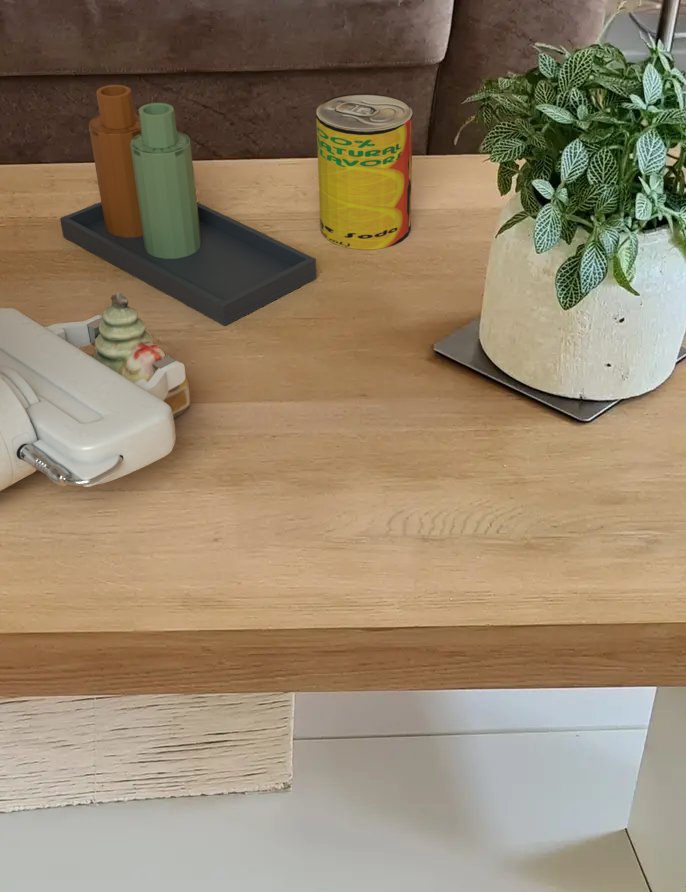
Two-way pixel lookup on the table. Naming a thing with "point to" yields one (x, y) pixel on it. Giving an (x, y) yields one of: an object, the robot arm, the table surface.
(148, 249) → the green bottle
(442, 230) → the table surface
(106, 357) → the ornament
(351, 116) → the beverage can
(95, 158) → the amber bottle
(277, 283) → the tray
